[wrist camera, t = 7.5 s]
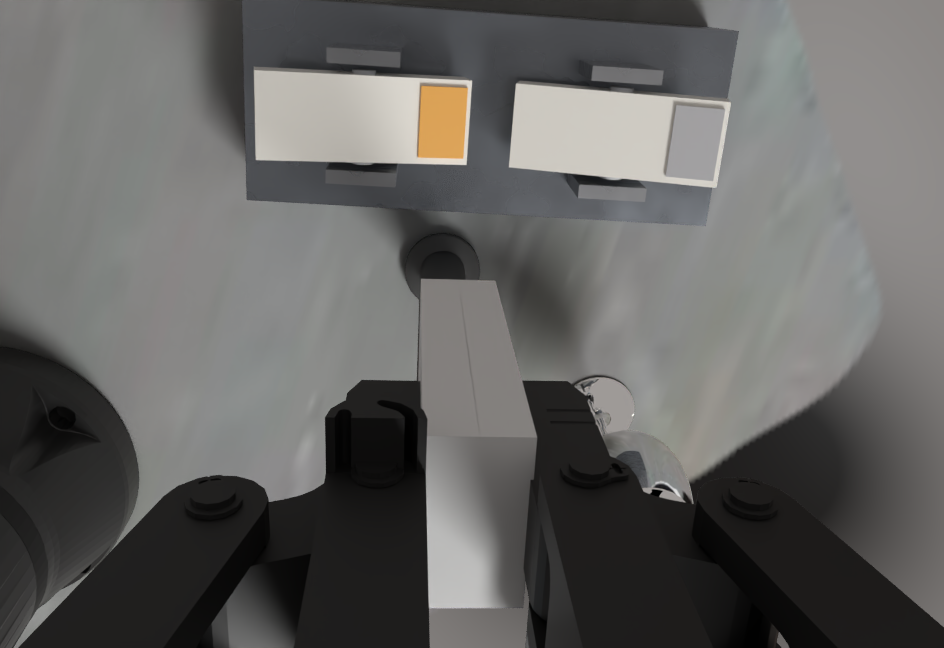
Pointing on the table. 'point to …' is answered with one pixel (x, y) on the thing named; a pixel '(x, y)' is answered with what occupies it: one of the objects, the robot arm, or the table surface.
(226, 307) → the table surface
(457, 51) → the panel
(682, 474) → the wineglass
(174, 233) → the table surface
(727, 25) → the table surface
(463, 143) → the paddle
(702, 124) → the paddle
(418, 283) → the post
